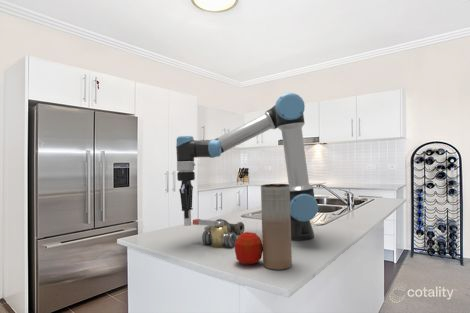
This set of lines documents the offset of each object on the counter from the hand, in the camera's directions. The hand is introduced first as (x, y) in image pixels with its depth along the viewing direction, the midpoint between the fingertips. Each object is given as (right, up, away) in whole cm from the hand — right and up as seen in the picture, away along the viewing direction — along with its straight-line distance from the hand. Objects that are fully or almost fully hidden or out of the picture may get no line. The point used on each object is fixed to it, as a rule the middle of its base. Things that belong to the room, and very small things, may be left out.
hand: (187, 225), depth 128 cm
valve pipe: (+14, -9, -1) cm, 16 cm away
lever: (+9, -1, +2) cm, 9 cm away
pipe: (+16, -9, +18) cm, 25 cm away
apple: (+26, -8, -24) cm, 36 cm away
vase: (+35, -8, -26) cm, 45 cm away
